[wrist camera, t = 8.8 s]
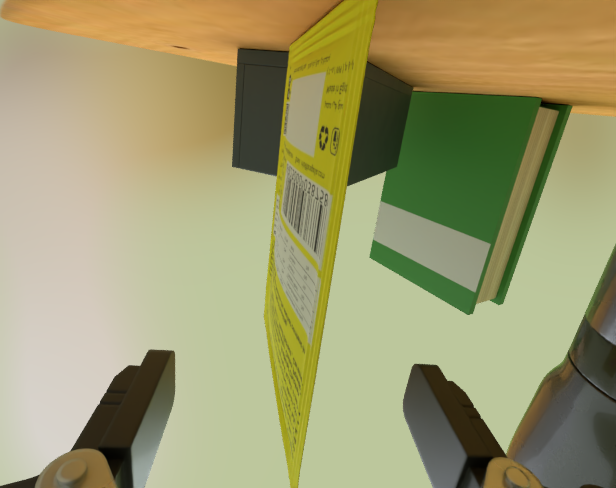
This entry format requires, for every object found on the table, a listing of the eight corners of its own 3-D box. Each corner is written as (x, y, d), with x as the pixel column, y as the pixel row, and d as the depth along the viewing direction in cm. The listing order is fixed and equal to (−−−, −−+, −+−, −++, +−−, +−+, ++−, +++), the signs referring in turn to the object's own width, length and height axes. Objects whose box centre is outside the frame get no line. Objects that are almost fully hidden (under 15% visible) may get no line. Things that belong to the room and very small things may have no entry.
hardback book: (537, 97, 35) (468, 314, 43) (572, 106, 39) (502, 303, 47) (402, 90, 48) (369, 257, 57) (438, 97, 52) (402, 252, 61)
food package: (298, 46, 23) (270, 317, 30) (280, 43, 23) (256, 317, 30) (401, -30, 9) (305, 507, 16) (360, -40, 9) (280, 510, 16)
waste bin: (359, 57, 24) (338, 189, 27) (413, 87, 42) (397, 167, 45) (237, 48, 28) (231, 166, 31) (333, 79, 45) (324, 153, 48)
